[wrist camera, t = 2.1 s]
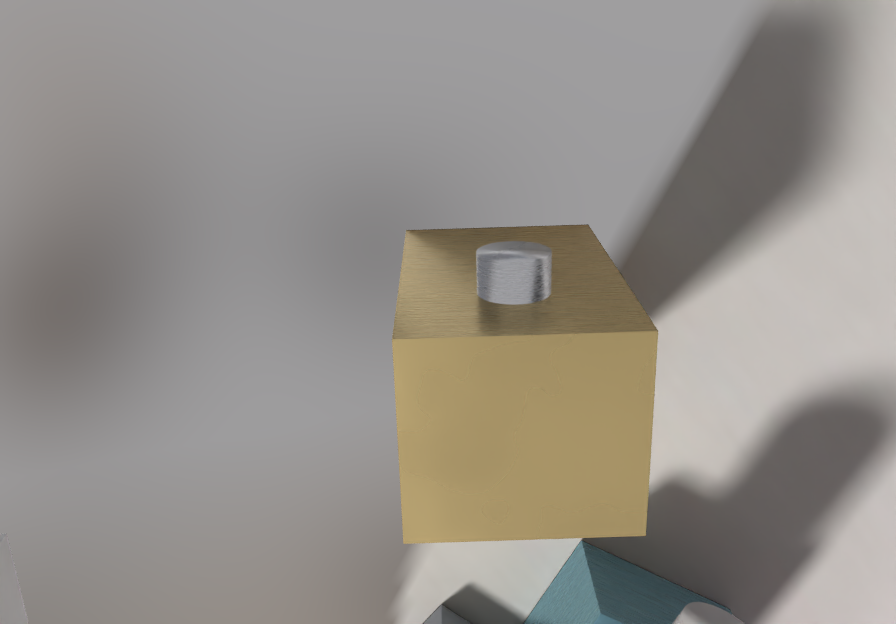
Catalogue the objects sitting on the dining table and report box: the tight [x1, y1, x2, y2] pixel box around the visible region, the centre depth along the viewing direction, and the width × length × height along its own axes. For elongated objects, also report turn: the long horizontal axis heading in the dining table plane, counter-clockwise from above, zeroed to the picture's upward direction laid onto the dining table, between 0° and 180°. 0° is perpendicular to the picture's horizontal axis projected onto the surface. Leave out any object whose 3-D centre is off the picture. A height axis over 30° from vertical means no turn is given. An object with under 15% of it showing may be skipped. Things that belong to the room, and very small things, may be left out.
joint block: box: [392, 225, 658, 544], centre depth 18 cm, size 6×4×7 cm
